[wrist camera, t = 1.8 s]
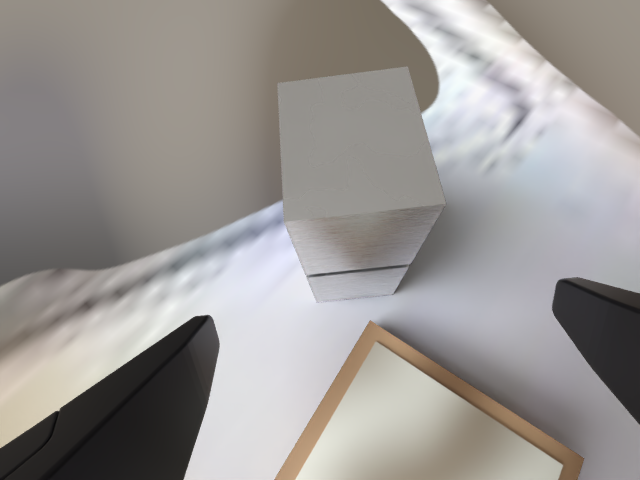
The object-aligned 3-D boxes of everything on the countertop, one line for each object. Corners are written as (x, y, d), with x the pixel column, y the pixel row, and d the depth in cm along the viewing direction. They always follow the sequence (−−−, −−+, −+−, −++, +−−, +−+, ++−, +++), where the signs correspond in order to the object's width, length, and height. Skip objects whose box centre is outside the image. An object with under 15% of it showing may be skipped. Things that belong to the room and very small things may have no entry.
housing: (392, 294, 21) (446, 203, 10) (316, 302, 21) (283, 222, 10) (378, 213, 23) (407, 66, 12) (310, 221, 23) (277, 83, 12)
